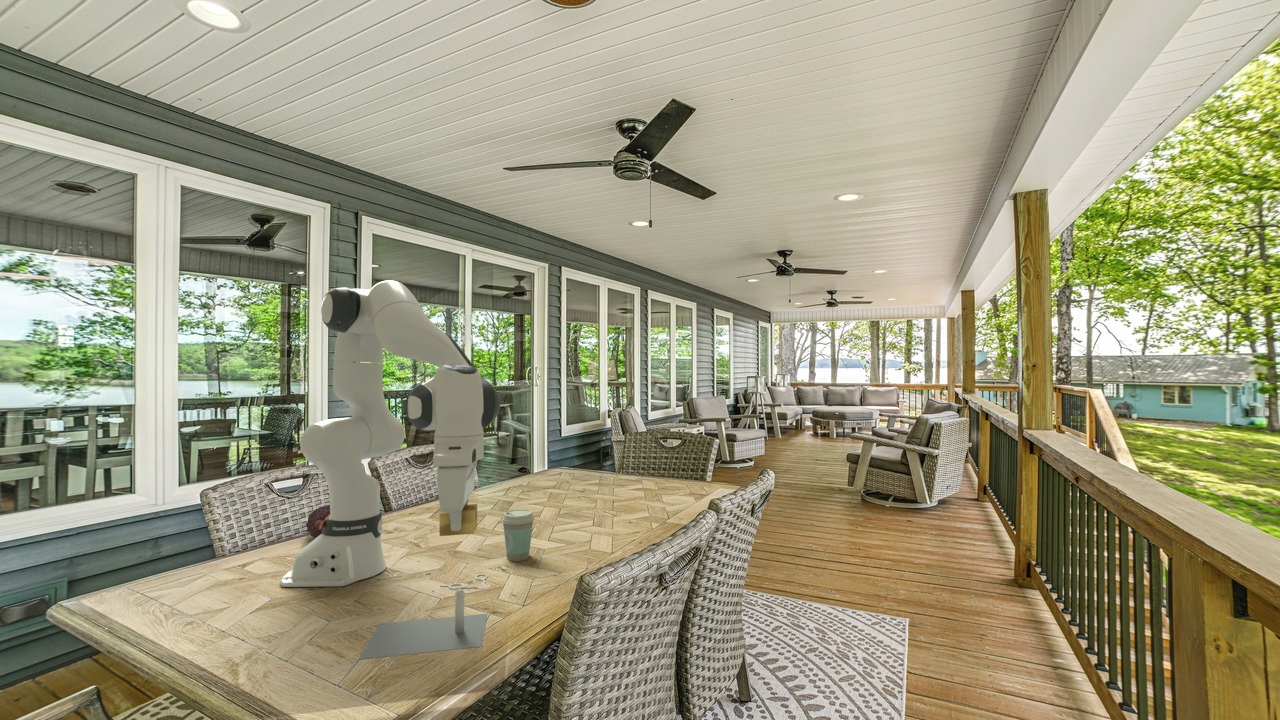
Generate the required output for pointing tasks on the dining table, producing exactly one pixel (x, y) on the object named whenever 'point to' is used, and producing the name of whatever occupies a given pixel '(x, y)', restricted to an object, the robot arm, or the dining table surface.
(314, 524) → the pine cone
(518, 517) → the coffee cup
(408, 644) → the grey peg stand
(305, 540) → the dining table surface
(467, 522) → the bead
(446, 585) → the scissors
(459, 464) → the robot arm
